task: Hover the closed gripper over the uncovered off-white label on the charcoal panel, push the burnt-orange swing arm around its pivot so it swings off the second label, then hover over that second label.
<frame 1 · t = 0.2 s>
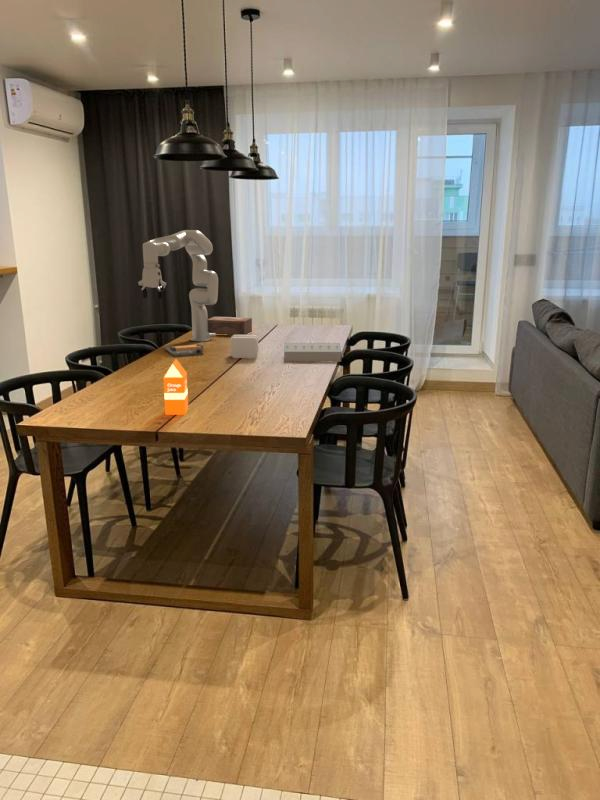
hand: (152, 298, 340), 30 cm above the table, tool pointing down, fingers open, 9 cm apart
swing arm: (187, 347, 346), point 4 cm above the table, hinge at 0.0°
label panel: (183, 352, 352), on the table
warehouse: (312, 359, 337), on the table
cable organizer: (244, 357, 340), on the table
tissue box cover: (229, 334, 410), on the table
orange juice: (177, 411, 242), on the table
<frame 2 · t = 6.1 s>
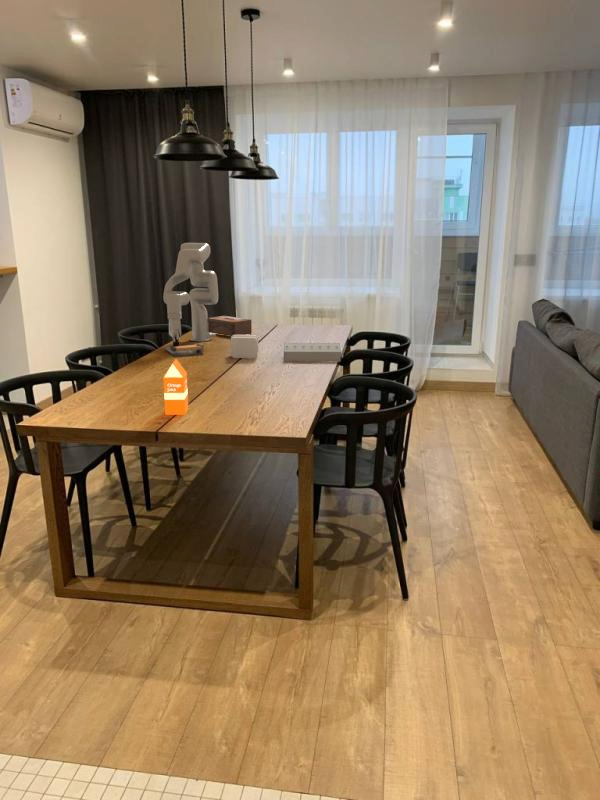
hand: (176, 348, 348), 2 cm above the table, tool pointing down, fingers closed
swing arm: (187, 347, 345), point 4 cm above the table, hinge at 2.6°, touching gripper
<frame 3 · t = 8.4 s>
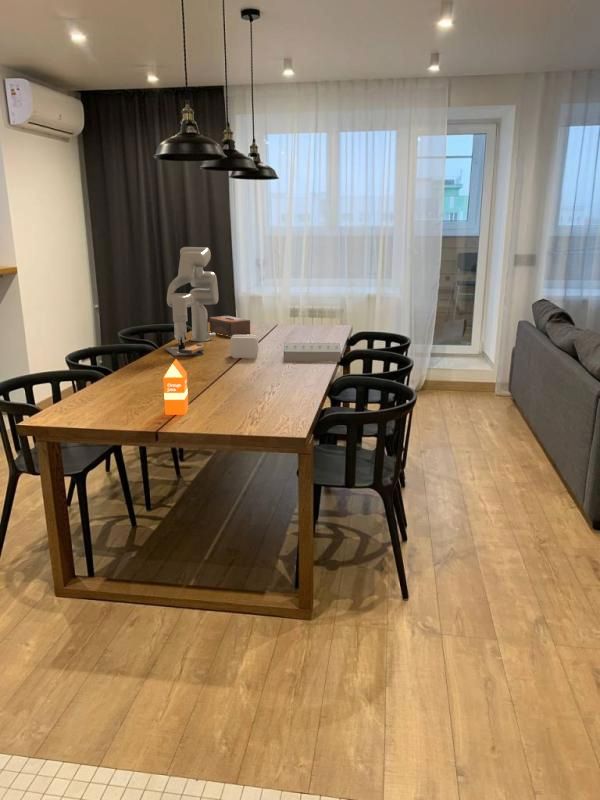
hand: (182, 352, 341), 2 cm above the table, tool pointing down, fingers closed
swing arm: (193, 348, 342), point 4 cm above the table, hinge at 45.2°, touching gripper
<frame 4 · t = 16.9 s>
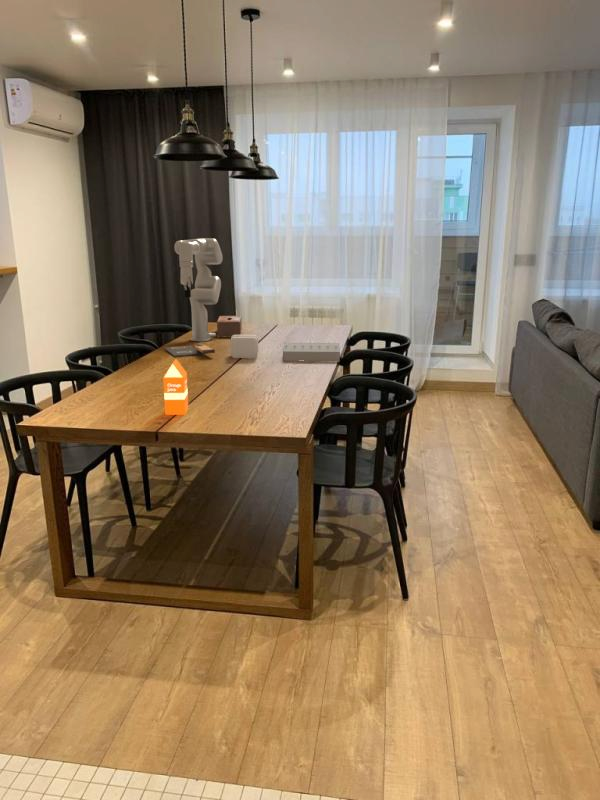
hand: (187, 297, 357), 29 cm above the table, tool pointing down, fingers closed
swing arm: (203, 348, 342), point 4 cm above the table, hinge at 91.6°
at the end: swing arm at +92° (first picture: +0°); cable organizer moved 0.3 cm from its start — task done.
